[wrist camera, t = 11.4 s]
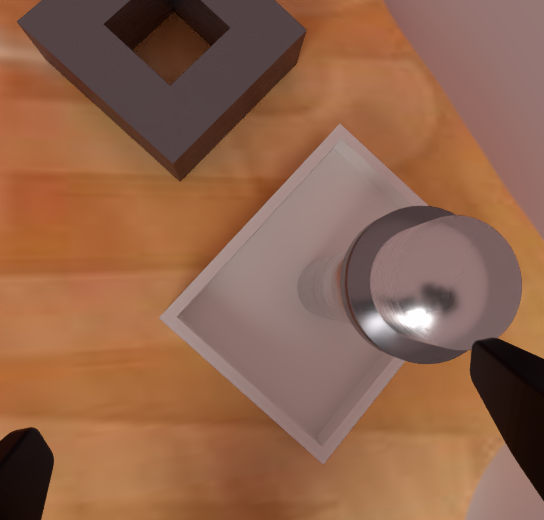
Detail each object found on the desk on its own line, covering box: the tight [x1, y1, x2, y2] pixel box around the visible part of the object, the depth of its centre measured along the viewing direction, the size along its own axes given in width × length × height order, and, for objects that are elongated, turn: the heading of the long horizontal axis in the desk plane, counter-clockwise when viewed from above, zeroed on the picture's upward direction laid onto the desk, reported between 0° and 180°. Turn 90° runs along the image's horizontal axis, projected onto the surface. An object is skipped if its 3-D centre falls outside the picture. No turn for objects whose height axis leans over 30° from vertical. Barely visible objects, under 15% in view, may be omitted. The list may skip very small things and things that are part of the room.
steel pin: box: [297, 206, 522, 364], centre depth 15 cm, size 4×4×12 cm
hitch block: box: [17, 0, 307, 181], centre depth 21 cm, size 10×10×3 cm
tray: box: [159, 124, 428, 464], centre depth 21 cm, size 14×11×2 cm
